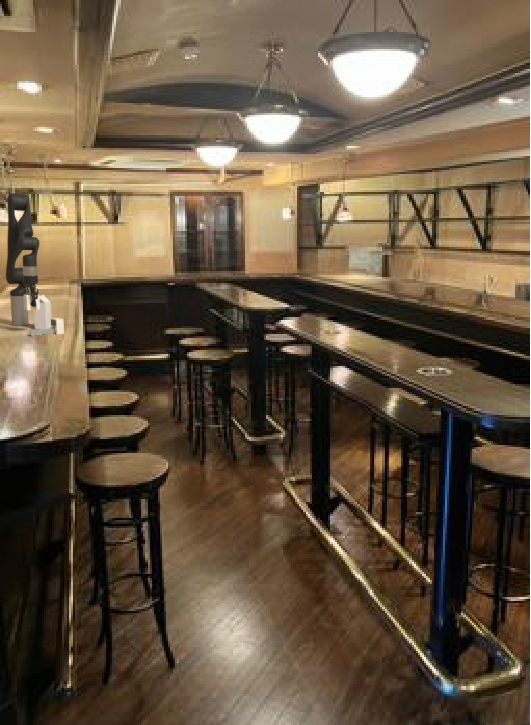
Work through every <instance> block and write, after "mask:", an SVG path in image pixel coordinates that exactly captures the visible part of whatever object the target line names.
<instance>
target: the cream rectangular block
mask: <svg viewBox="0 0 531 725" xmlns="http://www.w3.org/2000/svg"><path fill="white" fill-rule="evenodd" d="M39 296H40V294H38V299H36V307H33V310H34V309H36V310H39V309H40V298H39ZM30 303H31V296H30V294H28V295H24V309H25V310H28V311H31V308H32V306H30Z"/></svg>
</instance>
